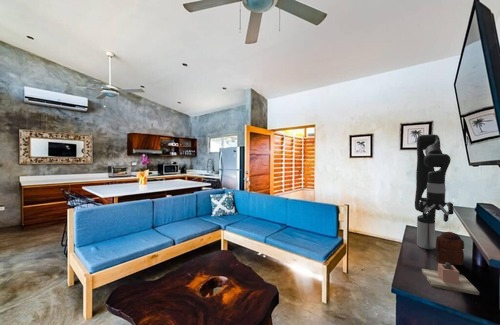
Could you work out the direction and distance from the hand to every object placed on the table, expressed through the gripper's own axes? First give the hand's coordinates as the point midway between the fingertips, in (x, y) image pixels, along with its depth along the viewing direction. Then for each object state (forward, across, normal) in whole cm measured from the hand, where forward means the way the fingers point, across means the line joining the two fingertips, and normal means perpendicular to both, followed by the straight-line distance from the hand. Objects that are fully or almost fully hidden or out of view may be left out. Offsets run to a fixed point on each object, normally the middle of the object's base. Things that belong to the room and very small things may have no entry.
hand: (434, 220), depth 114 cm
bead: (+26, -2, +12) cm, 28 cm away
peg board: (+27, -2, +12) cm, 30 cm away
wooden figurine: (+28, -10, -11) cm, 32 cm away
